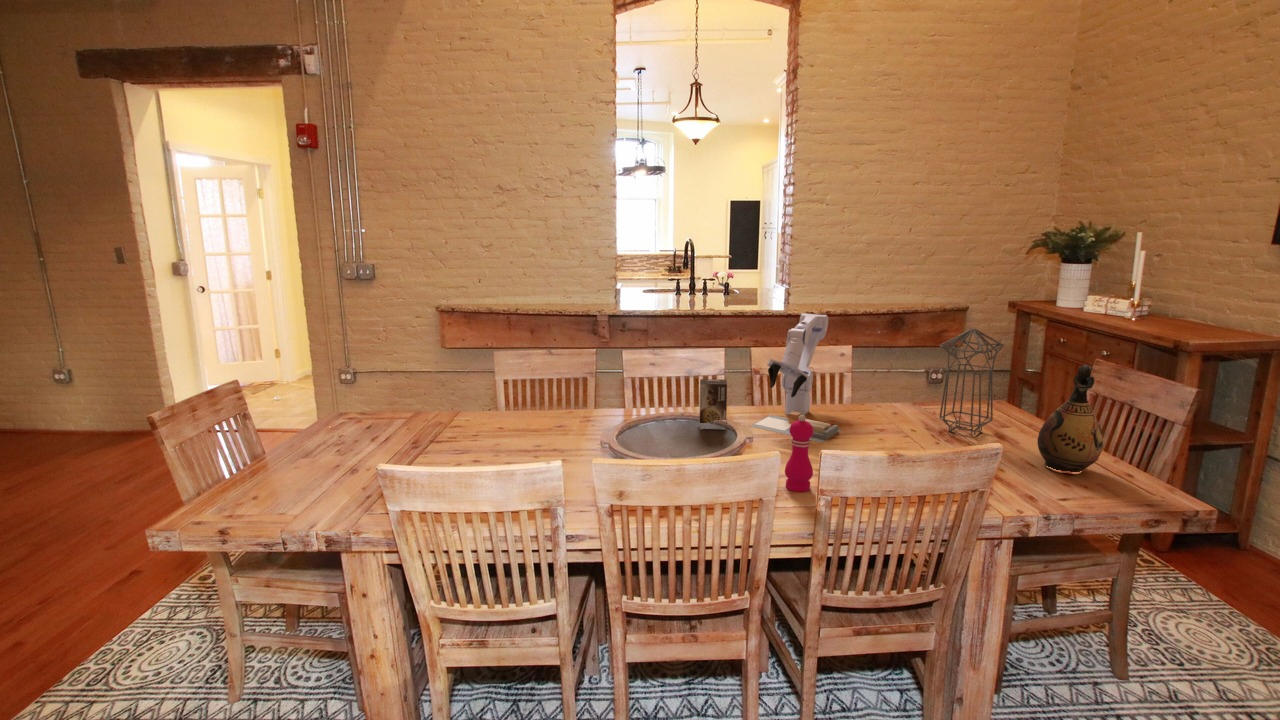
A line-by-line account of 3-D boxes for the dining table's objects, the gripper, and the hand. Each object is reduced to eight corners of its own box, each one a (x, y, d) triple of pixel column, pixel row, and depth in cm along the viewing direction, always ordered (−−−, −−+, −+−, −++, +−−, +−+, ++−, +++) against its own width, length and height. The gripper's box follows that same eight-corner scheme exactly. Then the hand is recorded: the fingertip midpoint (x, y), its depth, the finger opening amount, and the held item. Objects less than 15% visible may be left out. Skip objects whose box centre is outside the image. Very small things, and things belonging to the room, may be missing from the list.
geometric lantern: (979, 443, 207) (989, 334, 200) (930, 432, 219) (937, 328, 211) (998, 432, 217) (1009, 328, 210) (951, 422, 229) (959, 323, 221)
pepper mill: (780, 482, 176) (784, 411, 172) (806, 481, 177) (811, 410, 172) (788, 493, 169) (793, 419, 165) (815, 492, 170) (820, 419, 165)
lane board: (770, 416, 232) (771, 408, 232) (841, 432, 217) (842, 422, 216) (748, 428, 220) (749, 419, 219) (822, 445, 204) (823, 435, 204)
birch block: (793, 424, 221) (794, 410, 220) (829, 432, 214) (830, 418, 212) (786, 428, 217) (787, 414, 216) (823, 436, 210) (824, 421, 209)
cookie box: (725, 424, 223) (727, 379, 220) (726, 430, 217) (728, 384, 214) (698, 423, 224) (700, 378, 221) (698, 429, 218) (700, 383, 214)
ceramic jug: (1099, 484, 176) (1118, 376, 169) (1033, 472, 184) (1048, 368, 177) (1096, 464, 190) (1113, 364, 184) (1034, 453, 198) (1049, 357, 191)
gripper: (777, 343, 217) (767, 376, 210) (816, 361, 217) (808, 395, 210) (768, 353, 223) (759, 385, 216) (806, 370, 223) (798, 403, 217)
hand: (782, 391), depth 214 cm, fingers open, 7 cm apart
